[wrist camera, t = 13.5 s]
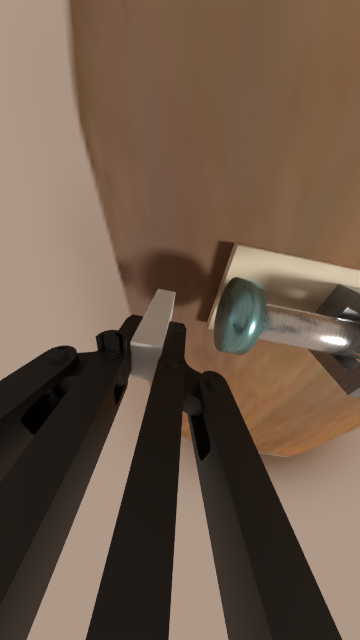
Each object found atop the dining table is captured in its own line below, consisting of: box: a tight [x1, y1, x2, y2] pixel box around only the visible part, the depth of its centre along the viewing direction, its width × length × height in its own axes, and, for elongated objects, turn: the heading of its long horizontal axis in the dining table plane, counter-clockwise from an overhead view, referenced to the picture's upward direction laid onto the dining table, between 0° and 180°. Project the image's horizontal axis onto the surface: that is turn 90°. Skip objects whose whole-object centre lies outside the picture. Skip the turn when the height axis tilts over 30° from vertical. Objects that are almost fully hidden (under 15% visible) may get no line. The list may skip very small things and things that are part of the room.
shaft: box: [214, 277, 360, 359], centre depth 13 cm, size 16×6×6 cm, turn 80°
